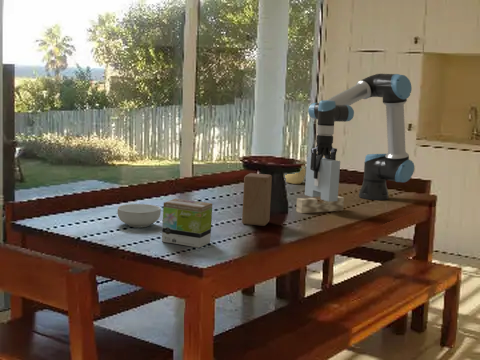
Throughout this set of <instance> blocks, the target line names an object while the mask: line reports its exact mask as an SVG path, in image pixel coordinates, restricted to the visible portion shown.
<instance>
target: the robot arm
mask: <svg viewBox="0 0 480 360" xmlns="http://www.w3.org/2000/svg"><path fill="white" fill-rule="evenodd" d="M411 93H412V83H411V80H410V79H409V78H408V76H406V75H404V74H399V73H376V74H373V75H370V76H367V77H365V78H363V79H361V80H359V81H357V82H356V84H355V85H353V86H351V87H350V88H347V89H345V90H343V91H342V92H340V93H337V94H335V95H333V96H332V97H330V98H328V99H322V100H320V101H318V102H313V103H311V104H310V105H309V107H308V111H307V112H308V115H309V117H310V118H312V119H315V120H317V127H316V141H315V142H316V145H315V147H313V148H310V153H311V167H310V169H311V170H313V171H314V178H315V181H314V185H315V186H319V180H320V172H318V171H319V168H320V162H321V159H322V158H325V159H331V160H336V159H337V152H338V148H334V147H333V143H334V134H335V122H343V123H345V122H350V121H351V120H353V118H354V116H355V111H354V108H353V107H352V106H351V105H353V104H355V103H357V102H359V101H361V100H367V99H369V98H382V104H384V105H385V108H386V109H385V112H386V113H385V114H386V115H385V116H386V132H387V133H386V135H387V136H386V137H387V153H370V154H366V155H365V157H364V158H365V160H364V167H363V180H362V181H363V182H362V185H361V186H360V189H359V191H358V197H360V198H362V199H365V200H373V201H387V200H388V199H389V191H388V187H387V181H392V182H396V183H406V182H409V181H410V179H411V178H412V176H413V175H414V173H415V172H414V171H415V164H414V162H413V161H412V160H411V159H410V154H409V153H408V152H406V129H405V128H406V127H405V104H406V103H407V102H408V98H409V97H410V96H411ZM336 161H337V160H336Z"/></svg>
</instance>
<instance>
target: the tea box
mask: <svg viewBox="0 0 480 360" xmlns="http://www.w3.org/2000/svg"><path fill="white" fill-rule="evenodd" d="M212 216H213V203H212V202H203V201H197V200H189V199H183V198H174V199H171V200H168V201H164V202H163V209H162V226H161V227H162V229H161V230H162V232H161V242H162V243H167V244H168V243H169V244H175V245H182V246H186V247H193V248H198V249H199V248H202V247H204V246H206V245H207V244H210V242H211V239H212V238H211V235H212V221H213V220H212V219H213V217H212Z"/></svg>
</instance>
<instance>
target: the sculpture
mask: <svg viewBox="0 0 480 360" xmlns="http://www.w3.org/2000/svg"><path fill="white" fill-rule="evenodd" d="M285 178H286V181H285V182H286V183H288V184H293V185H300V184H301V183H303V182H304V179H305V178H306V169H305V168H304V167H302V170H301V171H300V172H299V173H295V174H287V175H285Z"/></svg>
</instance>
